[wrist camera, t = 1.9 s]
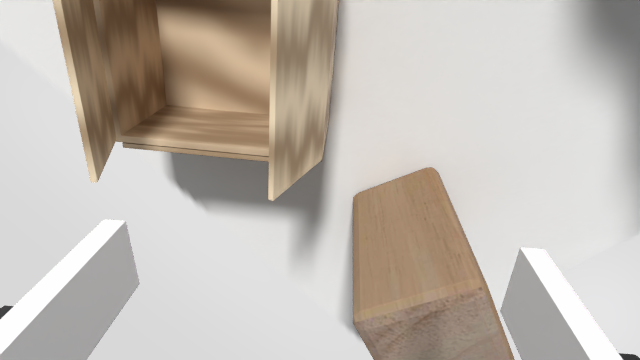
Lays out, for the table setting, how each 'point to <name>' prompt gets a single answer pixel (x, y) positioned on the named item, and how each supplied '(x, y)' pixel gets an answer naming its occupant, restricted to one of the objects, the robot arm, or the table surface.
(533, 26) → the table surface
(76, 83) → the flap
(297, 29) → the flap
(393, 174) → the table surface
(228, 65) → the carton
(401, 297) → the wooden block
